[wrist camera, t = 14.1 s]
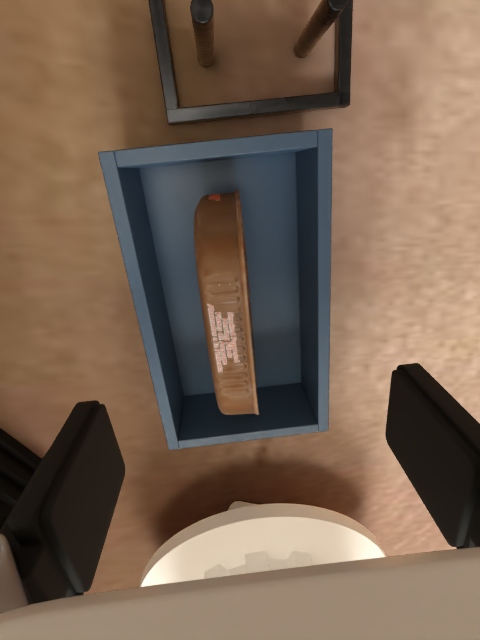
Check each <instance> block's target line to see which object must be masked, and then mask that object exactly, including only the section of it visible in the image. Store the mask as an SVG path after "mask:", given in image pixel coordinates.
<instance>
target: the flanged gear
mask: <svg viewBox="0 0 480 640" xmlns="http://www.w3.org/2000/svg"><path fill="white" fill-rule="evenodd" d="M380 557H386V554H385V552H384V550H383V548H382V546H381V544H380V543H379V541H378V540H377V538H376V537H375V536H374V535H373V534H372V533H371V532H370V531H369V530H368V529H367V528H366V527H364V526H363V525H361V524H360V523H358V522H357V521H355V520H353V519H352V518H349V517H347V516H345V515H343V514H340V513H338V512H335V511H332V510H329V509H325V508H321V507H316V506H310V505H302V504H288V503H275V504H261V505H257V504H252V503H247V502H242V501H234V502H233V503H232V504H231V505H230V507H229V509H228V511H225V512H221V513H218V514H215V515H213V516H210V517H207V518H205V519H203V520H200V521H198V522H196V523H194V524H192V525H190V526H188V527H186V528H185V529H183V530H181V531H180V532H178V533H177V534H175V535H174V536H173V537H171V538H170V539H169V540H167V541H166V542H165V543H164V544H163V545H162V546H161V547H160V548H159V549H158V550H157V551H156V552H155V553H154V555H153V556H152V557H151V558H150V560H149V562H148V563H147V565H146V567H145V569H144V571H143V574H142V577H141V580H140V585H139V587H144V586H152V585H159V584H167V583H175V582H183V581H191V580H198V579H206V578H214V577H222V576H230V575H238V574H246V573H254V572H263V571H271V570H279V569H287V568H295V567H304V566H312V565H320V564H328V563H337V562H345V561H354V560H363V559H371V558H380Z"/></svg>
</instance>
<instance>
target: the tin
mask: <svg viewBox="0 0 480 640" xmlns="http://www.w3.org/2000/svg"><path fill="white" fill-rule="evenodd" d="M194 246H195V259H196V269H197V277H198V285H199V292H200V299H201V306H202V313H203V320H204V327H205V333H206V340H207V346H208V353H209V359H210V365H211V372H212V377H213V383H214V389H215V395H216V399H217V403H218V407H219V409H220V411H221V412H222V413H223V414H225V415H238V414H253V413H254V414H256V415H259V408H258V394H257V381H256V363H255V350H254V340H253V327H252V316H251V304H250V292H249V281H248V269H247V257H246V246H245V236H244V225H243V215H242V208H241V199H240V194H239V190H236V191H235V192H231V193H222V194H211V195H205V196H203V197H202V198H201V199H200V201H199V203H198V205H197V207H196V210H195V214H194Z"/></svg>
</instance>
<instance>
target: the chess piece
mask: <svg viewBox="0 0 480 640" xmlns="http://www.w3.org/2000/svg"><path fill="white" fill-rule="evenodd" d="M41 461H42V459H41V458H39V457H38V456H37V455H35V454H34V453H32V452H31V451H30V450H28V449H27V448H26V447H24V446H23V445H22V444H20V443H19V442H18V441H16V440H15V439H14V438H12V437H11V436H10V435H8V434H7V433H6V432H4V431H3V430H2V429H0V529H1V527H2V526H3V524H4V522H5V521H6V519H7V517H8V516H9V514H10V512H11V511H12V509H13V507H14V506H15V504H16V502H17V501H18V499H19V497H20V496H21V494H22V492H23V491H24V489H25V487H26V486H27V484H28V482H29V481H30V479H31V477H32V476H33V474H34V472H35V471H36V469H37V467H38V466H39V464H40V462H41Z"/></svg>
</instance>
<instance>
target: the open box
mask: <svg viewBox="0 0 480 640" xmlns="http://www.w3.org/2000/svg"><path fill="white" fill-rule="evenodd" d="M332 137H333V129H332V128H328V129H319V130H309V131H299V132H289V133H279V134H270V135H260V136H250V137H240V138H230V139H221V140H211V141H201V142H191V143H181V144H172V145H162V146H152V147H142V148H133V149H123V150H115V151H103V152H98V155H99V159H100V163H101V167H102V171H103V176H104V180H105V184H106V188H107V192H108V197H109V201H110V205H111V209H112V213H113V218H114V222H115V226H116V230H117V234H118V239H119V243H120V247H121V251H122V255H123V260H124V264H125V268H126V272H127V276H128V281H129V285H130V289H131V293H132V297H133V302H134V306H135V310H136V314H137V318H138V323H139V327H140V331H141V335H142V339H143V344H144V348H145V352H146V356H147V360H148V365H149V369H150V373H151V377H152V382H153V386H154V390H155V394H156V398H157V403H158V407H159V411H160V415H161V419H162V424H163V428H164V432H165V436H166V440H167V445H168V449H169V450H175V449H179V448H180V449H183V448H191V447H199V446H208V445H216V444H224V443H232V442H241V441H249V440H257V439H265V438H274V437H282V436H290V435H298V434H307V433H315V432H323V431H328V429H329V356H330V283H331V210H332ZM236 190H239V194H240V199H241V208H242V215H243V225H244V236H245V246H246V257H247V269H248V281H249V292H250V304H251V316H252V327H253V340H254V350H255V363H256V381H257V394H258V408H259V415H256V414H254V413H253V414H238V415H225V414H223V413H222V412H221V411H220V409H219V407H218V403H217V399H216V395H215V389H214V383H213V377H212V372H211V365H210V359H209V353H208V346H207V340H206V333H205V327H204V320H203V313H202V306H201V299H200V292H199V285H198V277H197V269H196V259H195V246H194V214H195V210H196V207H197V205H198V203H199V201H200V199H201V198H202V197H203V196H205V195H211V194H222V193H231V192H235V191H236Z"/></svg>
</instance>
